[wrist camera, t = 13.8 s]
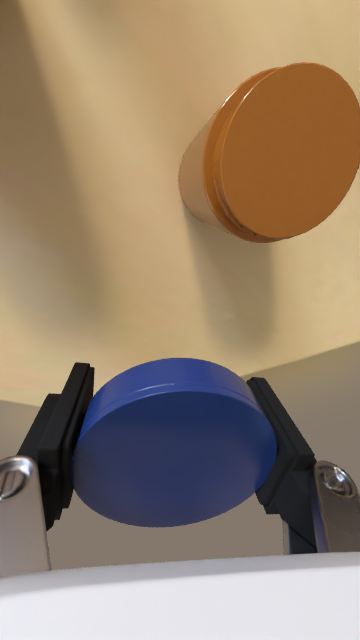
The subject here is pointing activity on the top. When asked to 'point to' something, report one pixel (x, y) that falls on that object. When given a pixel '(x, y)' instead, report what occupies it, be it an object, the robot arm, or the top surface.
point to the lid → (171, 444)
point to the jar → (275, 154)
